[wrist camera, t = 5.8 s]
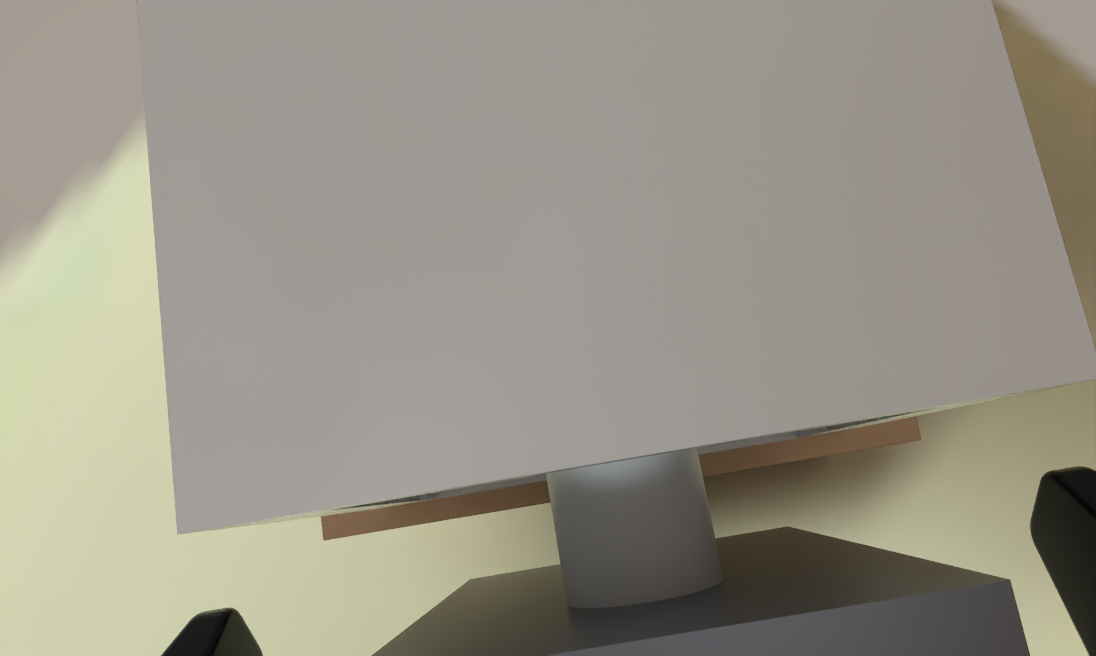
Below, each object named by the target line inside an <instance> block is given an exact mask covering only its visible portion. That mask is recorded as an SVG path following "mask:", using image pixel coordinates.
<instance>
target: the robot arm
mask: <svg viewBox="0 0 1096 656" xmlns="http://www.w3.org/2000/svg"><path fill="white" fill-rule="evenodd" d="M1030 530H1031V535H1032V539H1033V542H1034V544H1035V546H1036V549H1037V551H1038V553H1039V555H1040V557H1041V559H1042V561H1043V563H1044V565H1045V567H1046V569H1047V571H1048V573H1049V575H1050V577H1051V579H1052V581H1053V583H1054V585H1055V587H1056V589H1057V591H1058V593H1059V595H1060V597H1061V599H1062V601H1063V603H1064V605H1065V607H1066V609H1067V611H1068V613H1069V615H1070V618H1071V620H1072V622H1073V624H1074V626H1075V628H1076V630H1077V632H1078V634H1079V636H1080V638H1081V640H1082V642H1083V644H1084V646H1085V648H1086V650H1087V652H1088V654H1089V656H1096V471H1095V470H1092V469H1090V468H1087V467H1081V466H1079V467H1071V468H1065V469H1059V470H1053V471H1049V472H1047V473H1046V474H1045V475H1044V476H1043V477H1042V478H1041V481H1040V485H1039V489H1038V493H1037V497H1036V501H1035V505H1034V509H1033V513H1032V517H1031V522H1030ZM161 656H263V655H262V651H261V649H260V647H259V645H258V643H257V642H256V640H255V638H254V637H253V635H252V633H251V632H250V630H249V628H248V626H247V625H246V623H245V621H244V620H243V618H242V616H241V615H240V613H239V612H238V611H237V610H235V609H233V608H223V609H217V610H211V611H205V612H202V613H199V614H197V615H196V616H195V617H193V618H192V619H191V620H190V621H189V623H188V624H187V625H186V626H185V627H184V629H183V630H182V631H181V632H180V633H179V635H178V636H177V637H176V638H175V639H174V641H173V642H172V643H171V644H170V645H169V647H168V648H167V649H166V650H165V651H164V653H163V654H162V655H161Z"/></svg>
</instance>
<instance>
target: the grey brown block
mask: <svg viewBox="0 0 1096 656" xmlns="http://www.w3.org/2000/svg"><path fill="white" fill-rule="evenodd" d="M136 1H137V14H138V27H139V40H140V53H141V66H142V79H143V92H144V105H145V118H146V131H147V144H148V157H149V170H150V183H151V196H152V209H153V222H154V235H155V248H156V261H157V274H158V287H159V300H160V313H161V326H162V339H163V352H164V365H165V378H166V391H167V404H168V417H169V430H170V443H171V457H172V470H173V483H174V496H175V509H176V522H177V534H185V533H193V532H200V531H208V530H216V529H224V528H232V527H240V526H248V525H255V524H263V523H271V522H279V521H287V520H295V519H303V518H311V517H318V516H321V521H322V530H323V539H324V540H329V539H335V538H341V537H347V536H353V535H359V534H365V533H371V532H377V531H383V530H389V529H395V528H400V527H406V526H412V525H418V524H424V523H430V522H436V521H442V520H448V519H454V518H460V517H466V516H472V515H478V514H484V513H490V512H496V511H502V510H508V509H513V508H519V507H525V506H531V505H537V504H543V503H549V502H551V501H550V495H549V489H548V483H547V476H546V474H547V473H553V472H559V471H565V470H571V469H577V468H583V467H589V466H595V465H600V464H606V463H612V462H618V461H624V460H630V459H636V458H642V457H648V456H654V455H660V454H666V453H671V452H677V451H683V450H689V449H695V448H697V450H698V456H699V461H700V466H701V471H702V476H703V477H704V476H710V475H716V474H722V473H728V472H734V471H740V470H746V469H751V468H757V467H763V466H769V465H775V464H781V463H787V462H793V461H799V460H805V459H811V458H817V457H823V456H829V455H835V454H841V453H847V452H853V451H859V450H865V449H870V448H876V447H882V446H888V445H894V444H900V443H906V442H912V441H918V440H921V436H920V432H919V428H918V424H917V420H916V416H919V415H924V414H929V413H933V412H938V411H943V410H948V409H953V408H958V407H963V406H968V405H973V404H978V403H982V402H987V401H992V400H997V399H1002V398H1007V397H1012V396H1017V395H1022V394H1027V393H1031V392H1036V391H1041V390H1046V389H1051V388H1056V387H1061V386H1066V385H1071V384H1076V383H1080V382H1085V381H1090V380H1095V379H1096V350H1095V347H1094V343H1093V340H1092V337H1091V333H1090V330H1089V327H1088V323H1087V320H1086V316H1085V313H1084V310H1083V306H1082V303H1081V300H1080V296H1079V293H1078V290H1077V286H1076V283H1075V279H1074V276H1073V273H1072V269H1071V266H1070V263H1069V259H1068V256H1067V252H1066V249H1065V246H1064V242H1063V239H1062V236H1061V232H1060V229H1059V226H1058V222H1057V219H1056V215H1055V212H1054V209H1053V205H1052V202H1051V199H1050V195H1049V192H1048V188H1047V185H1046V182H1045V178H1044V175H1043V172H1042V168H1041V165H1040V162H1039V158H1038V155H1037V151H1036V148H1035V145H1034V141H1033V138H1032V135H1031V131H1030V128H1029V124H1028V121H1027V118H1026V114H1025V111H1024V108H1023V104H1022V101H1021V98H1020V94H1019V91H1018V87H1017V84H1016V81H1015V77H1014V74H1013V71H1012V67H1011V64H1010V60H1009V57H1008V54H1007V50H1006V47H1005V44H1004V40H1003V37H1002V34H1001V30H1000V27H999V23H998V20H997V17H996V13H995V10H994V7H993V3H992V0H136Z"/></svg>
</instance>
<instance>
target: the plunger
mask: <svg viewBox="0 0 1096 656" xmlns="http://www.w3.org/2000/svg"><path fill="white" fill-rule="evenodd" d="M546 476H547V483H548V489H549V495H550V501H551V507H552V513H553V520H554V526H555V532H556V538H557V544H558V550H559V556H560V563H561V564H560V565H554V566H548V567H541V568H535V569H529V570H523V571H517V572H511V573H505V574H499V575H493V576H487V577H481V578H475V579H470V580H469V581H468V582H466V583H465V584H464V585H462V586H461V587H460V588H459V589H457V590H456V591H455V592H453V593H452V594H451V595H449V596H448V597H447V598H446V599H444V600H443V601H442V602H440V603H439V604H438V605H437V606H435V607H434V608H433V609H431V610H430V611H429V612H427V613H426V614H425V615H424V616H422V617H421V618H420V619H418V620H417V621H416V622H415V623H413V624H412V625H411V626H409V627H408V628H407V629H405V630H404V631H403V632H402V633H400V634H399V635H398V636H396V637H395V638H394V639H393V640H391V641H390V642H389V643H387V644H386V645H385V646H383V647H382V648H381V649H380V650H378V651H377V652H376V653H374V654H373V655H372V656H1030V654H1029V650H1028V646H1027V642H1026V638H1025V635H1024V631H1023V627H1022V623H1021V619H1020V616H1019V612H1018V608H1017V604H1016V600H1015V597H1014V593H1013V589H1012V585H1011V581H1010V580H1009V579H1005V578H1000V577H996V576H992V575H988V574H984V573H980V572H975V571H971V570H967V569H963V568H959V567H954V566H950V565H946V564H942V563H938V562H934V561H929V560H925V559H921V558H917V557H913V556H909V555H904V554H900V553H896V552H892V551H888V550H883V549H879V548H875V547H871V546H867V545H863V544H858V543H854V542H850V541H846V540H842V539H838V538H833V537H829V536H825V535H821V534H817V533H813V532H808V531H804V530H800V529H796V528H792V527H783V528H777V529H770V530H764V531H758V532H752V533H746V534H740V535H734V536H728V537H722V538H716V539H715V536H714V531H713V526H712V521H711V516H710V511H709V506H708V501H707V496H706V491H705V486H704V481H703V476H702V471H701V466H700V461H699V456H698V450H697V448H695V449H689V450H683V451H677V452H671V453H666V454H660V455H654V456H648V457H642V458H636V459H630V460H624V461H618V462H612V463H606V464H600V465H595V466H589V467H583V468H577V469H571V470H565V471H559V472H553V473H547V474H546Z"/></svg>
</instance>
